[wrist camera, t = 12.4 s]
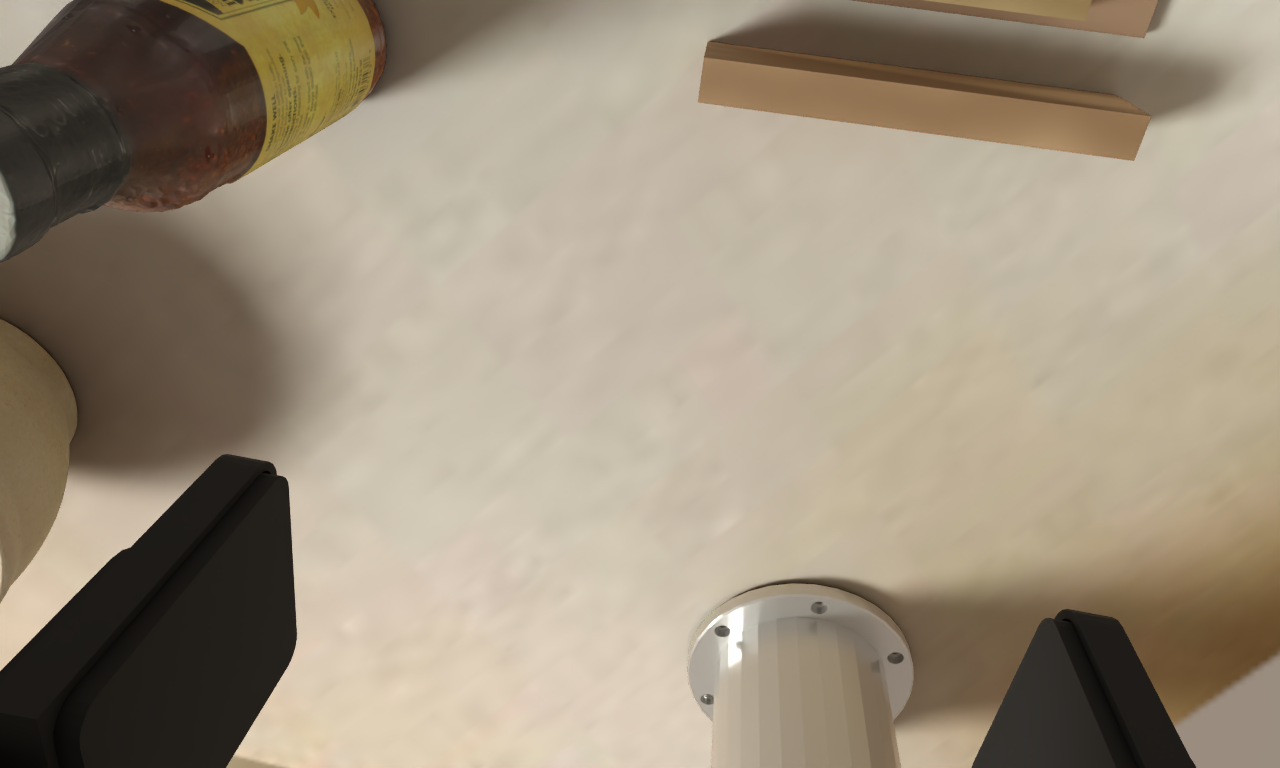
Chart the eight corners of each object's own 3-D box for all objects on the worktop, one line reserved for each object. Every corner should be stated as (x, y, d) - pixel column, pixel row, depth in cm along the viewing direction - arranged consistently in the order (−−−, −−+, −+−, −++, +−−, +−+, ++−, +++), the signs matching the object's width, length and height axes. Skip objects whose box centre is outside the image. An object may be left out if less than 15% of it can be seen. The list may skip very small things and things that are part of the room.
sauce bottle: (354, -69, 35) (-28, -9, 18) (416, 91, 38) (139, 277, 20) (211, -21, 36) (-271, 78, 19) (281, 130, 39) (-84, 334, 22)
